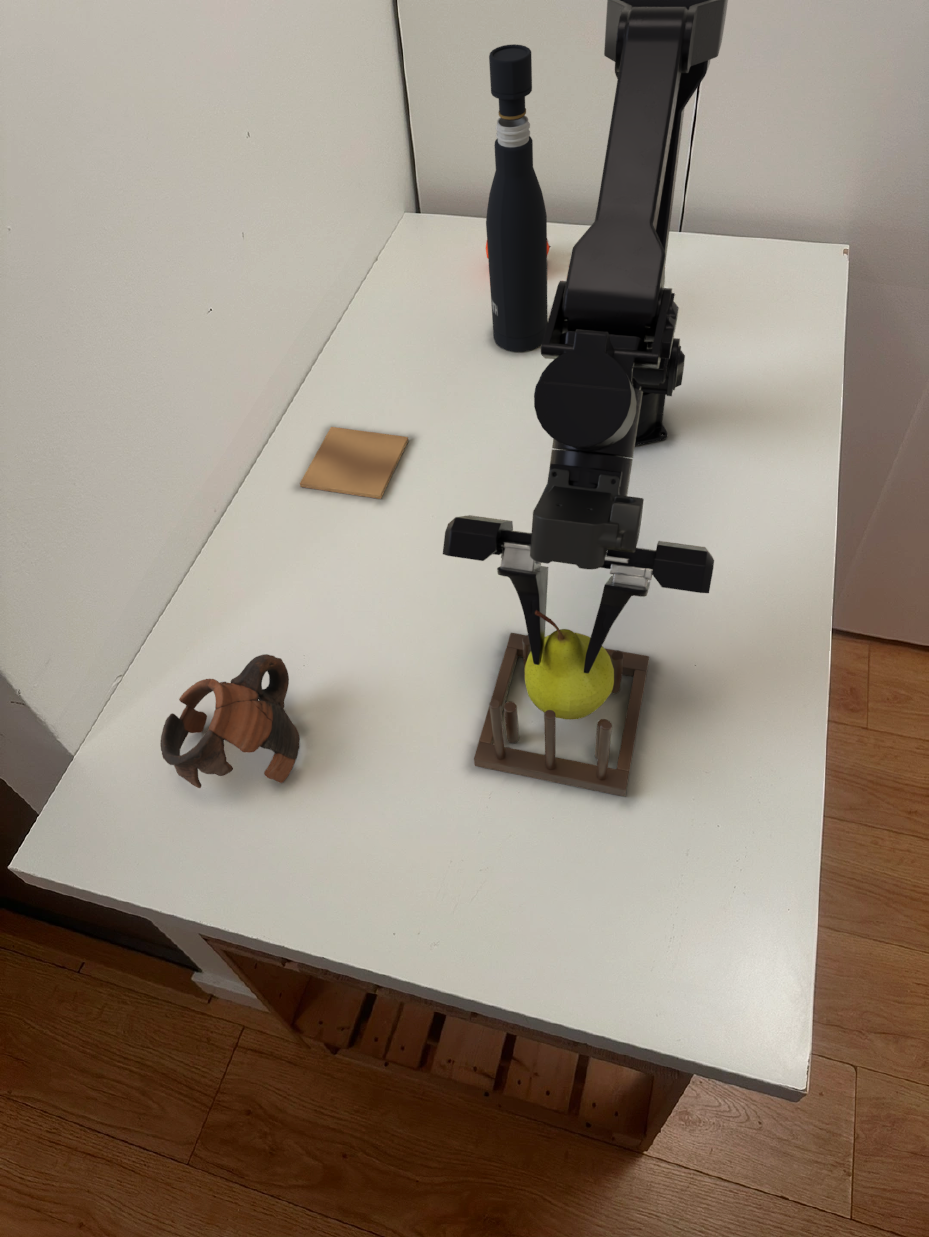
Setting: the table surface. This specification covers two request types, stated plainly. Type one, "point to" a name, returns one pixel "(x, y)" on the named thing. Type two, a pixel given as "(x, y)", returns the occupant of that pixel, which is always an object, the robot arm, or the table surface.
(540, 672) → the fruit
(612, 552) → the robot arm
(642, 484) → the table surface
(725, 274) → the table surface
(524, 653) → the rack
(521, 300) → the black bottle
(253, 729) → the broken clay pot
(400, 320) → the table surface
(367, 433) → the mat
